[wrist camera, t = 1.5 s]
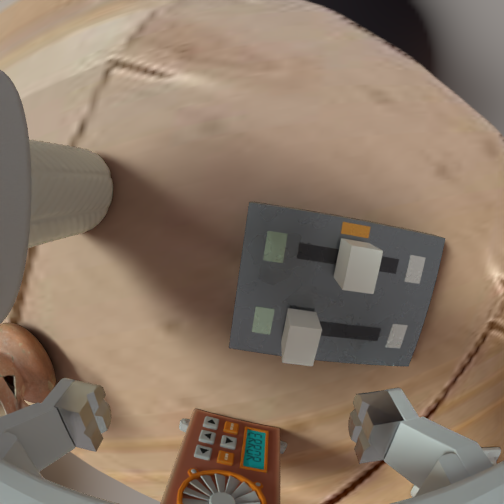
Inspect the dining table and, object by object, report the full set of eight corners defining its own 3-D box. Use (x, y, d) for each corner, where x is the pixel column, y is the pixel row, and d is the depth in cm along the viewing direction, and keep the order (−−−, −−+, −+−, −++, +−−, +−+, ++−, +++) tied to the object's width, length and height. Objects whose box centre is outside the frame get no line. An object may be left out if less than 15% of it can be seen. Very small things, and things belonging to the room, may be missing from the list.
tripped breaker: (368, 242, 30) (383, 250, 26) (360, 280, 31) (373, 294, 27) (341, 238, 30) (351, 245, 26) (333, 276, 31) (342, 289, 27)
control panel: (186, 401, 39) (290, 425, 39) (180, 433, 41) (276, 455, 40) (136, 524, 18) (295, 554, 18) (138, 545, 20) (273, 572, 19)
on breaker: (316, 312, 32) (322, 329, 27) (308, 345, 33) (312, 366, 28) (287, 308, 32) (290, 325, 28) (281, 342, 33) (282, 362, 28)
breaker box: (433, 234, 33) (445, 238, 30) (400, 355, 36) (408, 366, 33) (251, 201, 34) (249, 202, 30) (232, 336, 37) (228, 348, 34)
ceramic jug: (69, 343, 39) (11, 390, 25) (70, 408, 42) (28, 457, 28) (-6, 298, 39) (-62, 325, 25) (0, 363, 42) (-45, 396, 28)
